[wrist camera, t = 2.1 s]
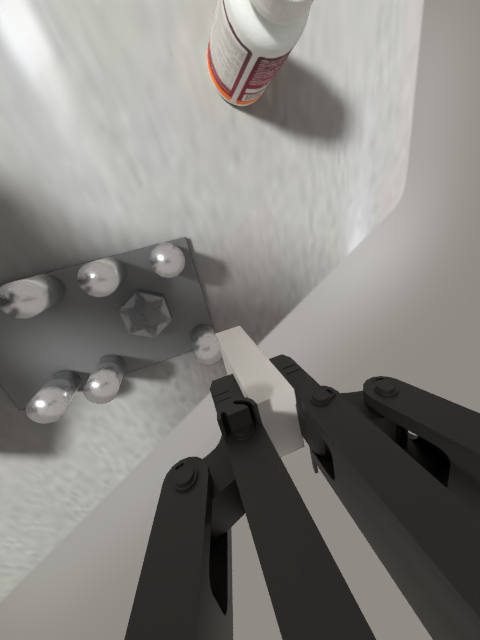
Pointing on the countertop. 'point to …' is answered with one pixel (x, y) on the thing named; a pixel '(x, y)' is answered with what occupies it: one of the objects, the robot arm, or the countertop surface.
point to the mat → (98, 326)
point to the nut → (145, 313)
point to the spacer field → (108, 372)
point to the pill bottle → (252, 44)
